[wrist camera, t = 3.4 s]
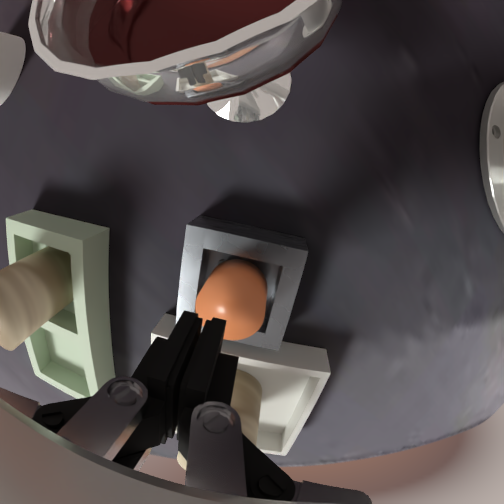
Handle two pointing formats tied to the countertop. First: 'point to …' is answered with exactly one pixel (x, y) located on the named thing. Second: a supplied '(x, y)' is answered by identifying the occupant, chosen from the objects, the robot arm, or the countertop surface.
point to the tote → (275, 384)
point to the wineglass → (185, 48)
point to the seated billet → (33, 293)
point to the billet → (243, 407)
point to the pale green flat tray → (78, 311)
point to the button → (234, 298)
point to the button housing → (254, 251)
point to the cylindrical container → (10, 63)
